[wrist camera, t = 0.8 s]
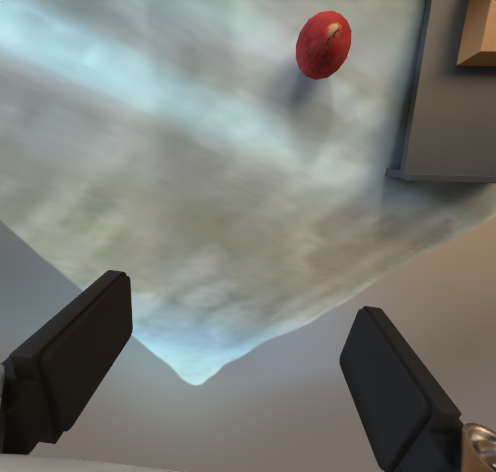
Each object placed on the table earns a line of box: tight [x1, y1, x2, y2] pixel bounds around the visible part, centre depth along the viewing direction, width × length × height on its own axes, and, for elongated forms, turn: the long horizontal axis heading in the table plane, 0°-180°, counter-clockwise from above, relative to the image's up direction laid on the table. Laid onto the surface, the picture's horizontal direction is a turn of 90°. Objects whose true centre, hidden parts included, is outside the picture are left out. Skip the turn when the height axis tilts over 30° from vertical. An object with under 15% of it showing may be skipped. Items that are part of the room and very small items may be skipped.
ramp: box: [385, 0, 496, 183], centre depth 27 cm, size 22×16×6 cm
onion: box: [296, 11, 351, 80], centre depth 26 cm, size 6×6×8 cm
